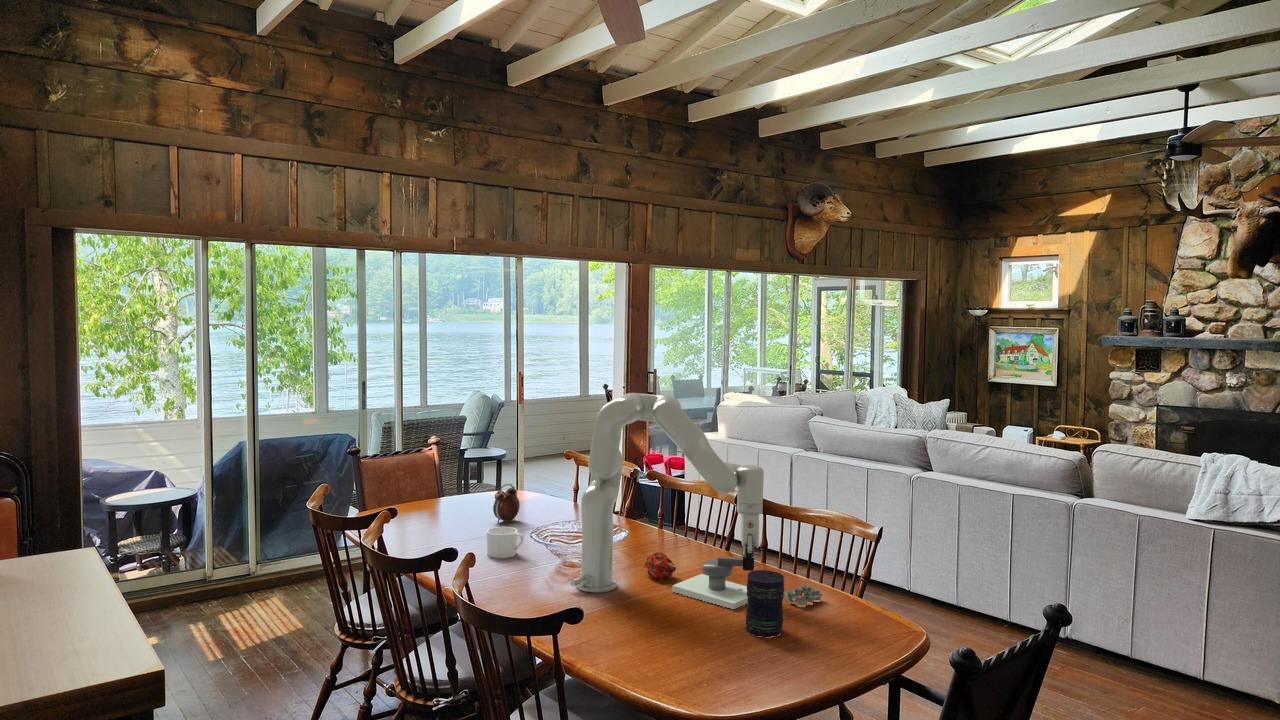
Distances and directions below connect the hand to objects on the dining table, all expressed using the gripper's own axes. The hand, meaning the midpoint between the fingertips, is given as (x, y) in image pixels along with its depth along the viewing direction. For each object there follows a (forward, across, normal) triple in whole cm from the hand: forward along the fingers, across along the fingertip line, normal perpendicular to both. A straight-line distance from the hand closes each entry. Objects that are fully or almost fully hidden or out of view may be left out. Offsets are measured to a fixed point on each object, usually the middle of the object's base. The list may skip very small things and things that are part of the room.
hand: (747, 567), depth 241 cm
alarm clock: (+9, +70, +90) cm, 115 cm away
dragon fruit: (+9, +13, +27) cm, 31 cm away
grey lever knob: (+2, 0, +6) cm, 6 cm away
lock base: (+9, 0, +9) cm, 13 cm away
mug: (+9, +29, +80) cm, 86 cm away
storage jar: (+9, -26, -3) cm, 28 cm away
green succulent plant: (+9, -2, -16) cm, 19 cm away
